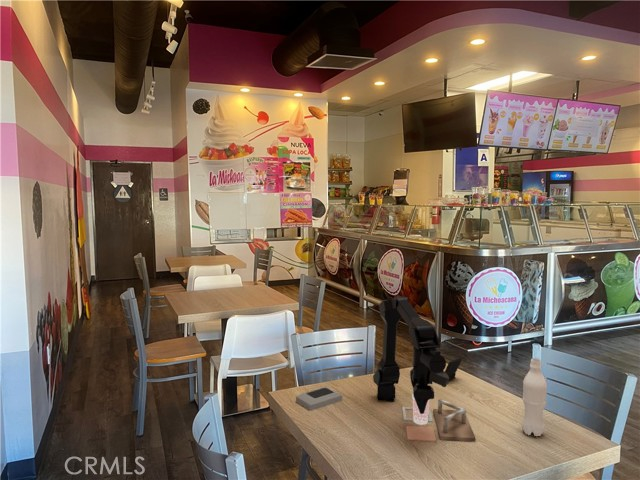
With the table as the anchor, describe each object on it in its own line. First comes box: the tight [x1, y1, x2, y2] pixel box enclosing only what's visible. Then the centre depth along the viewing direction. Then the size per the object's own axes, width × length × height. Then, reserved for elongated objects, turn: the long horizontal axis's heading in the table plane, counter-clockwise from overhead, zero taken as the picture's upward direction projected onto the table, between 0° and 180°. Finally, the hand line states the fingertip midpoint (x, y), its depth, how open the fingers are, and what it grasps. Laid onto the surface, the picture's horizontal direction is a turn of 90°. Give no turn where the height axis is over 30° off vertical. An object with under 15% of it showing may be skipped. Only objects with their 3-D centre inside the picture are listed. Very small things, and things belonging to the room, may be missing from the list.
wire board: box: [432, 398, 477, 443], centre depth 163 cm, size 11×20×6 cm, turn 173°
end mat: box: [405, 425, 437, 443], centre depth 158 cm, size 9×9×1 cm
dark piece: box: [444, 357, 462, 382], centre depth 205 cm, size 9×12×10 cm
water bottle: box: [521, 357, 548, 437], centre depth 157 cm, size 7×7×25 cm
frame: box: [401, 406, 434, 423], centre depth 171 cm, size 10×10×1 cm
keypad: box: [295, 386, 343, 412], centre depth 183 cm, size 10×4×15 cm
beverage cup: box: [411, 392, 431, 426], centre depth 157 cm, size 6×6×14 cm
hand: (420, 408), depth 157 cm, fingers closed on beverage cup, 7 cm apart
